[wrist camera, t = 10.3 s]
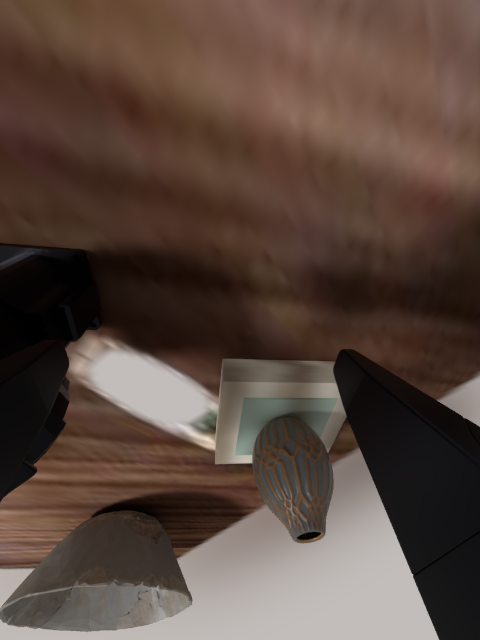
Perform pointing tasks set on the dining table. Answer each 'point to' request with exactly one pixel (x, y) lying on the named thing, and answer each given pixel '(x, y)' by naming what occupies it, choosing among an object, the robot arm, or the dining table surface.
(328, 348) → the dining table surface
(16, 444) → the robot arm
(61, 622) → the ceramic bowl
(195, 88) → the dining table surface
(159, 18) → the dining table surface
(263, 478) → the vase
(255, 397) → the plinth
